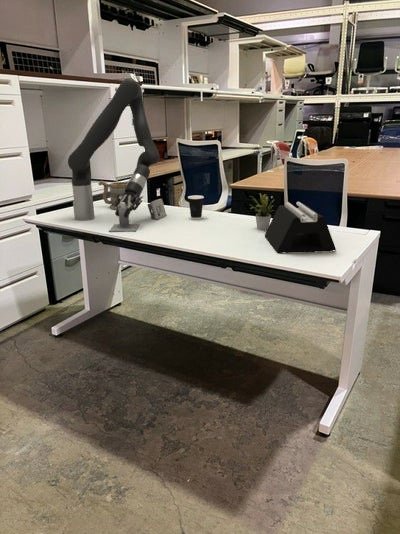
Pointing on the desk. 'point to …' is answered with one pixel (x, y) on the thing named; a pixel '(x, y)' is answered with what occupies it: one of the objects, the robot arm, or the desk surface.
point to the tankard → (113, 192)
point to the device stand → (298, 230)
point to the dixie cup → (196, 206)
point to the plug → (122, 218)
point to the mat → (124, 228)
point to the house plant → (263, 213)
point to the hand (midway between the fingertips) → (121, 215)
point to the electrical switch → (157, 209)
